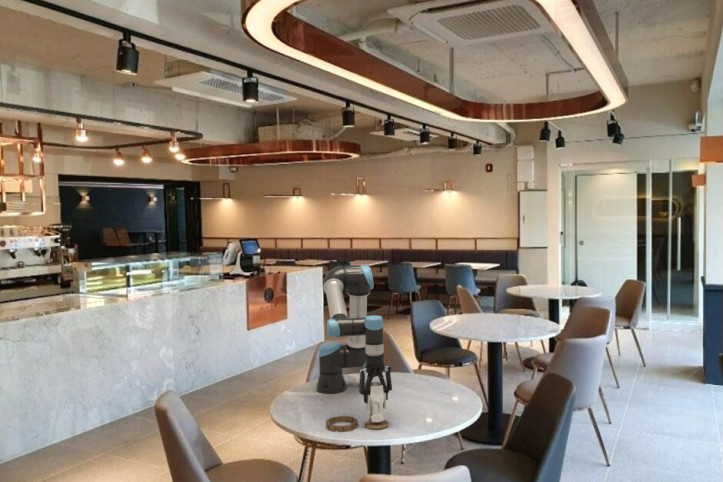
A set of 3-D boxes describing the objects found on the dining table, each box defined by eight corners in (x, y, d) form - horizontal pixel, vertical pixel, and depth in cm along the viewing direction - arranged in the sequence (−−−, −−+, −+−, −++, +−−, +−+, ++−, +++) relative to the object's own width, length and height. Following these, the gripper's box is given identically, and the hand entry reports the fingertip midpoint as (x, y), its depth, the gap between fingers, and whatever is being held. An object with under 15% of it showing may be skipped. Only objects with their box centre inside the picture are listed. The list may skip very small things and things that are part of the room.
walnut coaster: (360, 423, 241) (360, 421, 241) (382, 420, 244) (382, 417, 244) (370, 431, 231) (370, 429, 231) (392, 427, 235) (392, 425, 235)
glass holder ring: (322, 423, 242) (321, 419, 242) (350, 418, 247) (350, 414, 247) (332, 433, 230) (332, 428, 230) (362, 428, 235) (362, 423, 235)
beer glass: (368, 423, 234) (367, 386, 234) (367, 417, 241) (366, 382, 241) (385, 422, 235) (384, 385, 234) (383, 416, 242) (382, 381, 241)
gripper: (356, 358, 230) (357, 415, 231) (400, 352, 237) (401, 408, 238) (349, 354, 237) (350, 410, 237) (392, 349, 244) (393, 403, 245)
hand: (376, 409), depth 238 cm, fingers closed on beer glass, 6 cm apart
